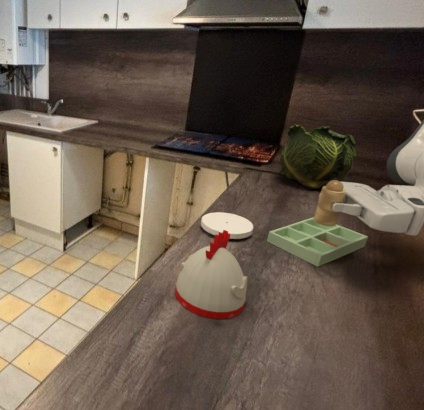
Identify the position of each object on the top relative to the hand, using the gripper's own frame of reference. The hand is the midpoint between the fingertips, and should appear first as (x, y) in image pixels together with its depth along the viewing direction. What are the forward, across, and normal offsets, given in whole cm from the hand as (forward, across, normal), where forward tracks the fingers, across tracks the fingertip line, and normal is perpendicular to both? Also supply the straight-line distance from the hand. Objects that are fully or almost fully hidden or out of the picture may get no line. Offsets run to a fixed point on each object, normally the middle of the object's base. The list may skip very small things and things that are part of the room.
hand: (326, 201), depth 80 cm
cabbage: (-24, -63, +17) cm, 69 cm away
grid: (-6, -12, +17) cm, 21 cm away
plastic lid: (+16, -16, +17) cm, 28 cm away
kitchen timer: (+26, +16, +17) cm, 35 cm away
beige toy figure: (-1, 0, +5) cm, 5 cm away
